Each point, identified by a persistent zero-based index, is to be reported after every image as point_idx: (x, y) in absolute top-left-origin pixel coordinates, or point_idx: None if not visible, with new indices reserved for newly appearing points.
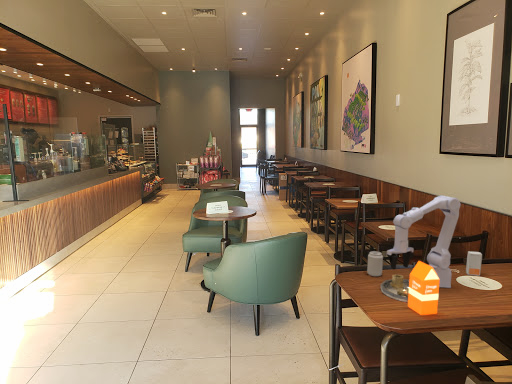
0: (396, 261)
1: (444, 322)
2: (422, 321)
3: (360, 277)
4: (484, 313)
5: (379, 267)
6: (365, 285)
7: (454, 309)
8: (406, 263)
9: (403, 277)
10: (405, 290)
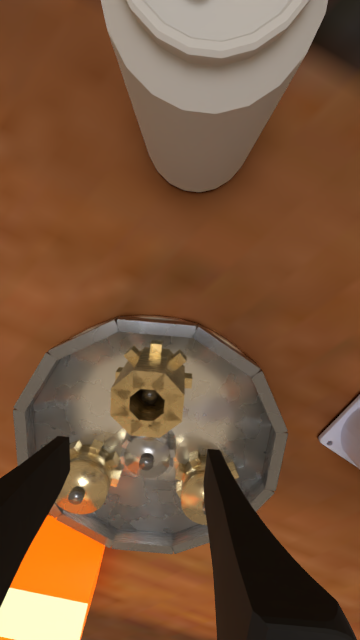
0: (9, 581)
1: None
2: None
3: (66, 141)
4: None
5: (192, 168)
6: (11, 272)
7: (181, 590)
8: (208, 515)
9: (162, 435)
10: (68, 504)
